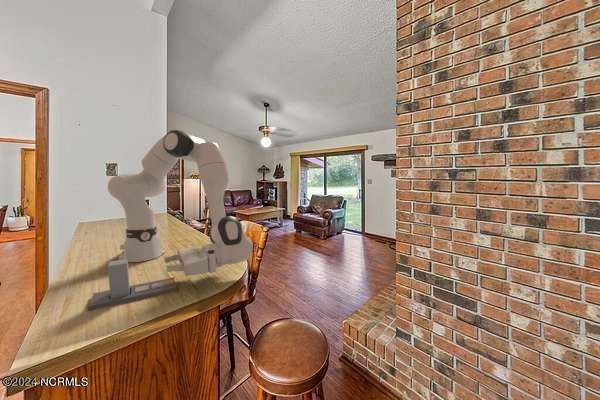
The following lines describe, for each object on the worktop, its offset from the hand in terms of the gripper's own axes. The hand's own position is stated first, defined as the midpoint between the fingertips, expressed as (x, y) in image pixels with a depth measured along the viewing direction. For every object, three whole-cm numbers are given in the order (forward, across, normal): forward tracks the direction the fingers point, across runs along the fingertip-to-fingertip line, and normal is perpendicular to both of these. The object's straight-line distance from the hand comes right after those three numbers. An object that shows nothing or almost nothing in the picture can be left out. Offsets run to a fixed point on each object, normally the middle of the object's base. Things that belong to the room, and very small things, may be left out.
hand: (165, 264), depth 80 cm
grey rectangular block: (+12, 0, +8) cm, 15 cm away
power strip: (+8, 0, +9) cm, 12 cm away
